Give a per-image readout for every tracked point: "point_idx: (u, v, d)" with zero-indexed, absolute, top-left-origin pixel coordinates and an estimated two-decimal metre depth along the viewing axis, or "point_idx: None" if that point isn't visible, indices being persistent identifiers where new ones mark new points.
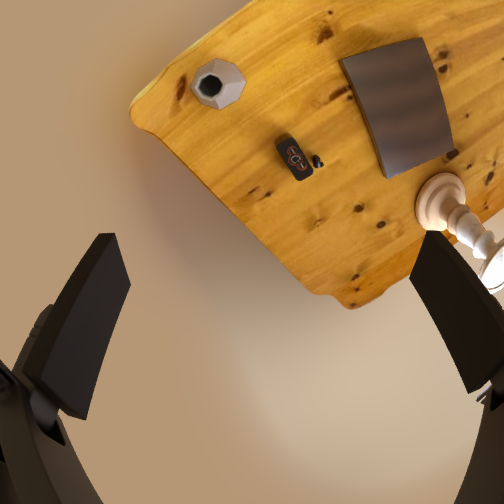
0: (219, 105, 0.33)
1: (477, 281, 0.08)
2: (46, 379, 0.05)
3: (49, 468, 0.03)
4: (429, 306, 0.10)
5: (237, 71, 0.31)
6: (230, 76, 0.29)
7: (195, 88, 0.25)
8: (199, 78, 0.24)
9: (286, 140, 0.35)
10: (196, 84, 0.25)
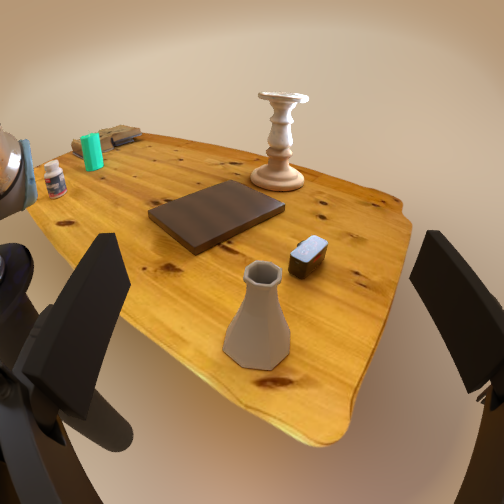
0: (284, 320, 0.28)
1: (477, 281, 0.08)
2: (46, 379, 0.05)
3: (49, 468, 0.03)
4: (429, 306, 0.10)
5: None
6: None
7: (270, 284, 0.22)
8: (255, 283, 0.22)
9: (295, 256, 0.36)
10: (265, 284, 0.22)
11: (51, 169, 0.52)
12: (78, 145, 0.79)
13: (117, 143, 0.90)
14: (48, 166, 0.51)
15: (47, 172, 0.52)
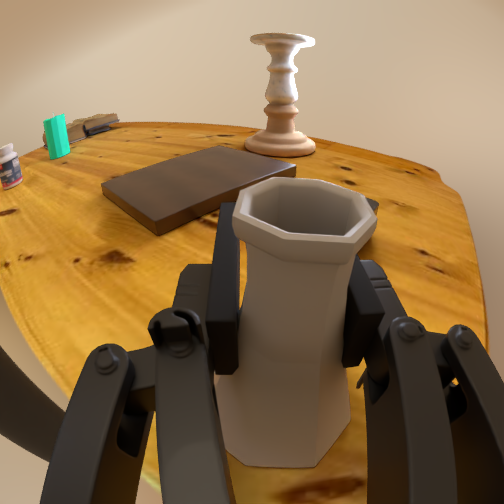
0: None
1: None
2: (236, 324, 0.07)
3: None
4: None
5: None
6: None
7: (350, 237, 0.05)
8: (287, 233, 0.05)
9: None
10: (327, 237, 0.05)
11: (3, 153, 0.35)
12: None
13: (91, 132, 0.73)
14: (0, 149, 0.35)
15: None
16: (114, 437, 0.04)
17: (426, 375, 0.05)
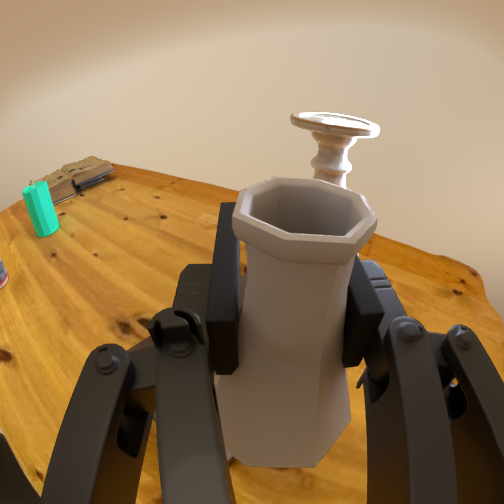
0: None
1: None
2: (236, 324, 0.07)
3: None
4: None
5: None
6: None
7: (350, 237, 0.05)
8: (286, 233, 0.05)
9: None
10: (327, 237, 0.05)
11: None
12: None
13: (83, 185, 0.66)
14: None
15: None
16: (114, 438, 0.04)
17: (426, 375, 0.05)
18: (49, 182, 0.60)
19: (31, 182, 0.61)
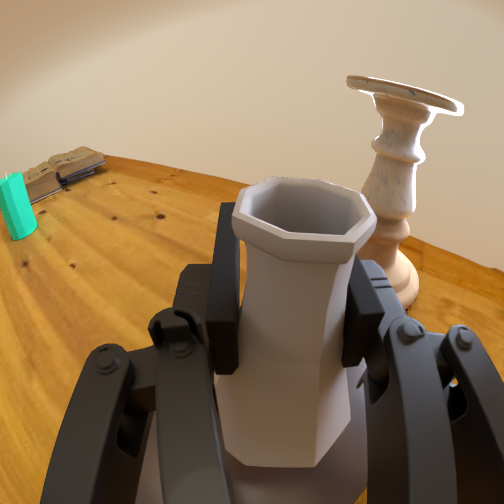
0: None
1: None
2: (236, 324, 0.07)
3: None
4: None
5: None
6: None
7: (350, 236, 0.05)
8: (286, 232, 0.05)
9: None
10: (326, 236, 0.05)
11: None
12: None
13: (70, 178, 0.55)
14: None
15: None
16: (114, 438, 0.04)
17: (426, 375, 0.05)
18: (32, 175, 0.49)
19: None
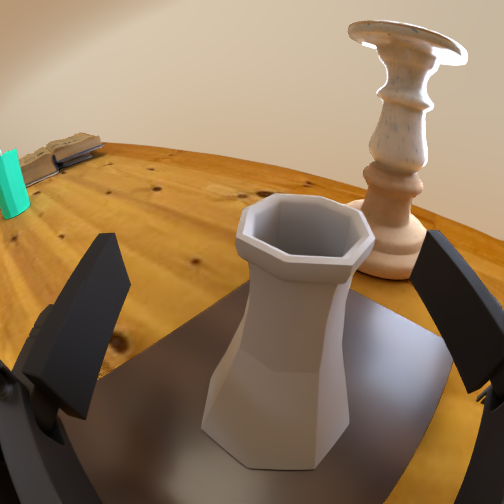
0: None
1: (477, 281, 0.08)
2: (46, 379, 0.05)
3: (49, 468, 0.03)
4: (429, 306, 0.10)
5: None
6: None
7: (348, 258, 0.05)
8: (288, 255, 0.05)
9: None
10: (326, 259, 0.05)
11: None
12: None
13: (66, 162, 0.52)
14: None
15: None
16: None
17: None
18: (28, 160, 0.47)
19: None
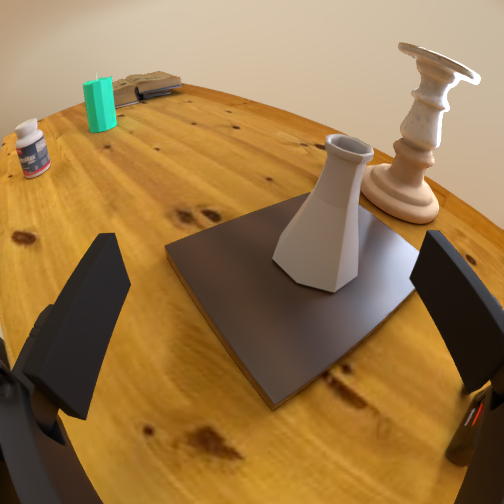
0: None
1: (477, 280, 0.08)
2: (46, 379, 0.05)
3: (49, 468, 0.03)
4: (429, 306, 0.10)
5: None
6: None
7: (362, 155, 0.15)
8: (342, 149, 0.15)
9: None
10: (354, 153, 0.15)
11: (23, 134, 0.28)
12: None
13: (146, 95, 0.62)
14: (19, 129, 0.27)
15: (19, 138, 0.28)
16: None
17: None
18: None
19: None
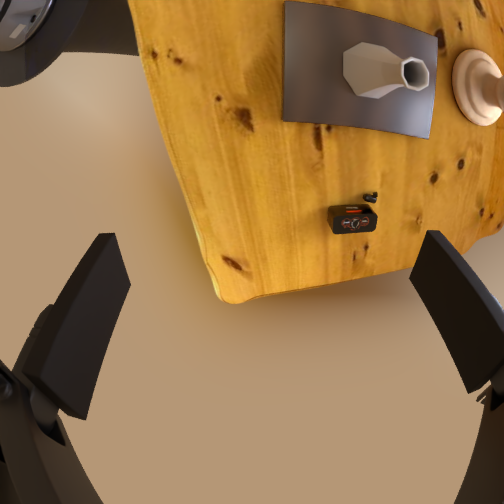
0: None
1: (477, 280, 0.08)
2: (46, 379, 0.05)
3: (49, 468, 0.03)
4: (429, 306, 0.10)
5: (373, 45, 0.22)
6: (387, 53, 0.20)
7: (409, 86, 0.18)
8: (402, 75, 0.17)
9: (334, 223, 0.35)
10: (406, 82, 0.17)
11: None
12: None
13: None
14: None
15: None
16: None
17: None
18: None
19: None
